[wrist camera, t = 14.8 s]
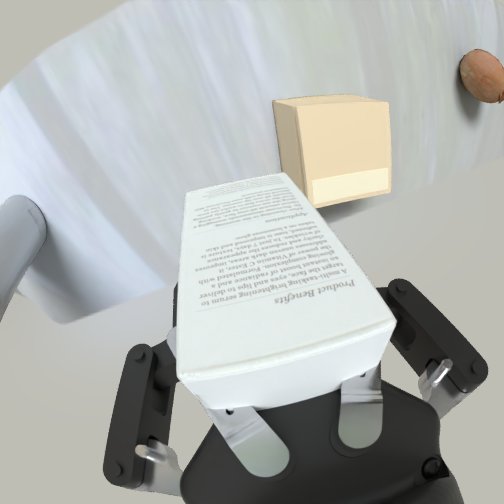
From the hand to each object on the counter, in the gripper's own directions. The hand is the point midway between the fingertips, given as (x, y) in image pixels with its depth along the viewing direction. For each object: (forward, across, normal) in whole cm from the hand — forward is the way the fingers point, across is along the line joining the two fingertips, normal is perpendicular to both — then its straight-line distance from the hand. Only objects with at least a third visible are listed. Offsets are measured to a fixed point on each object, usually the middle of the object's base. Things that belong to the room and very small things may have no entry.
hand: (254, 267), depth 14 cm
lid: (+12, -12, -1) cm, 17 cm away
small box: (+3, 0, 0) cm, 3 cm away
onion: (+21, -43, -12) cm, 49 cm away
